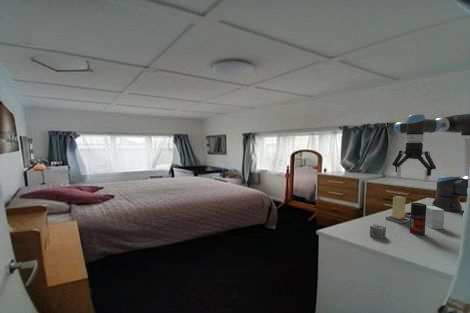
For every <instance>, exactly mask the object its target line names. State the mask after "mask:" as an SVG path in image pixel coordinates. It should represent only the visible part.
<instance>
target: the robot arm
mask: <svg viewBox="0 0 470 313" xmlns="http://www.w3.org/2000/svg"><path fill="white" fill-rule="evenodd" d="M425 116H426V115H424V114H410V115H408V116H407V121H405V120H404V121H398V122H396V123H394V126H393V130H394V132H395V134H401V135H403V134H405V135H406V137H405V142H406V143H405V150H399V151H398V154H397V156H396V157H395V159H394V161H393V162H392V164H391V165H392V166H393V167H394V168H395V169H394V170H395V173H396V179H401V176H402V175H401V174H402V173H401V172H402V167H401V166H402V165H403V164H404V163H405V162H406V161H408V160H409V159H411V160H418V161H419V162H420V163H421V164H422V165H423V166H424V168H425V170H424V178H423V180H424V181H423V182H424V183H428V182H429V180H430V179H429V178H430V176H431V175H432V170H436V169H437V166H436V165H435V162H434V161H433V159H432V156H431V154H430V151H423V148H424V144H423V142H424V135H425V133H428V134H433V133H437V132H438V133H452V134H453V133H456V134H457V133H459V134H460V135H461V137H463V138H464V162H463V163H464V169H463V170H464V173H463V175H462V176H460V175H459V176H457V175H443V176H438V177H437V180H436V190H435V192H436V193H435V198H434V199H433V201H432V204H431V206H435V207H438V208H440V209H443V210H444V212H445V211H446V212H453V213H454V212H455V213H460V212H462V211H463V207H462V206H463V205H462V204H461V201H460V197H462V198H466V197H467V188H468V180H469V167H470V113H463V114H455V115H449V116H444V117H438V118H436V119H430V118H429V119H427V118H426V117H425ZM404 154H405V156H404ZM423 155H424V156H425V159H424V157H423ZM402 157H403V158H402Z"/></svg>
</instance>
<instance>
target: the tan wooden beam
mask: <svg viewBox="0 0 470 313" xmlns="http://www.w3.org/2000/svg"><path fill="white" fill-rule="evenodd" d="M406 198H407V197H405V196H400V195H395V196H392V210H391V211H392V214H391V216H392V219H396V220H399V221H404V220H405V218H406V217H405V212H406V201H407V199H406Z"/></svg>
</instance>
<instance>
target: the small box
mask: <svg viewBox="0 0 470 313" xmlns="http://www.w3.org/2000/svg"><path fill="white" fill-rule="evenodd" d="M444 224H445V210H443V209H440V208H438V207H435V206H432V205H427V206H426V222H425V227H428V228H430V229H433V230H434V229H435V230H437V229H438V230H444V227H445V226H444Z"/></svg>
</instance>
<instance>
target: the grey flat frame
mask: <svg viewBox="0 0 470 313" xmlns="http://www.w3.org/2000/svg"><path fill="white" fill-rule="evenodd" d="M410 216H411V211H405V220H404V221H399V220H396V219H392V215H389V216H385V220H387V221H391V222H395V223H396V224H399V225H400V224H401V225H404V224H408V223H409V224H410Z"/></svg>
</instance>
